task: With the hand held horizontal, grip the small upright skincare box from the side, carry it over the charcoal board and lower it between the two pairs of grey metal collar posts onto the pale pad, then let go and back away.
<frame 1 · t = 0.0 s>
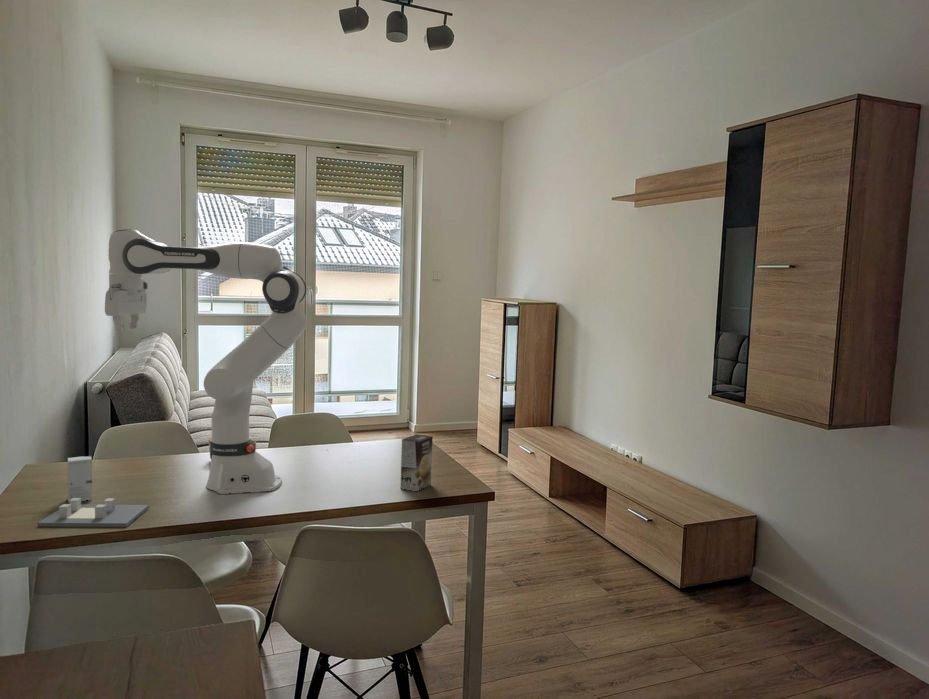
hand: (126, 329, 199), 48 cm above the table, tool pointing down, fingers open, 8 cm apart
lidded jar: (224, 461, 233), on the table
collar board: (95, 517, 175), on the table
coffee box: (416, 487, 209), on the table
skincare box: (80, 500, 188), on the table
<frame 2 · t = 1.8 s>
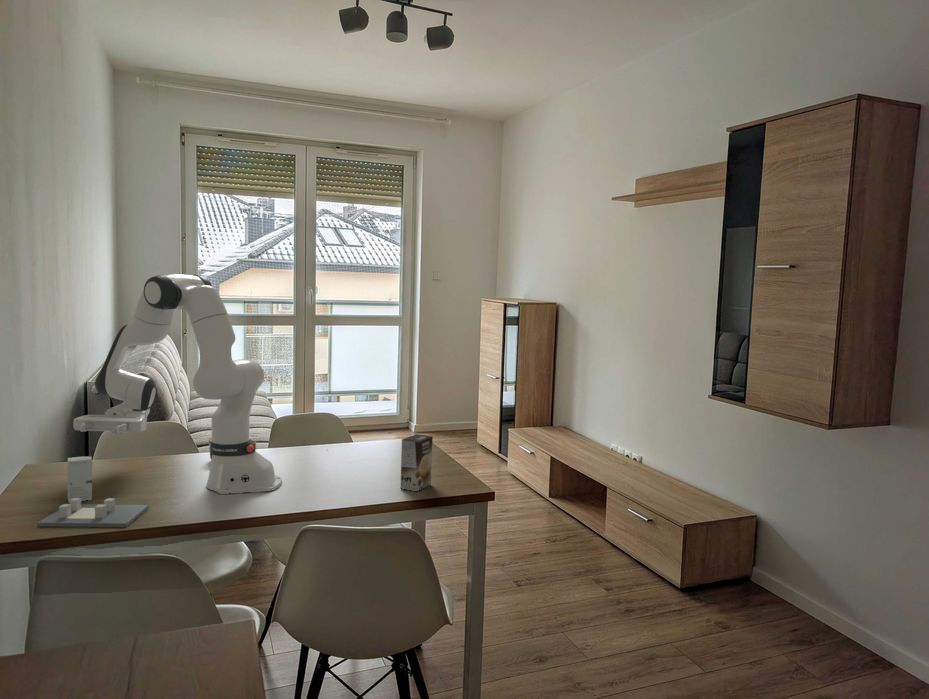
hand: (98, 429, 198), 18 cm above the table, tool horizontal, fingers open, 8 cm apart
nothing on the table moved.
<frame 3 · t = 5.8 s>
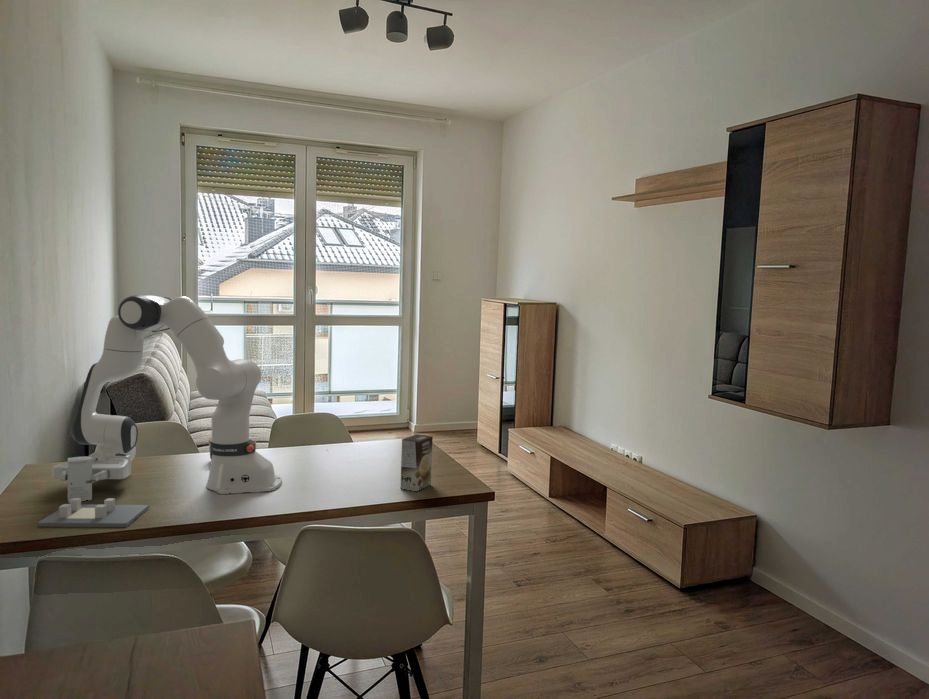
hand: (78, 478, 186), 7 cm above the table, tool horizontal, fingers closed on skincare box, 7 cm apart
skincare box: (80, 500, 188), on the table, touching gripper
everything else where it was.
when the fingers open (9 cm above the table, at t = 11.1 s): skincare box stays where it is, resting on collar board.
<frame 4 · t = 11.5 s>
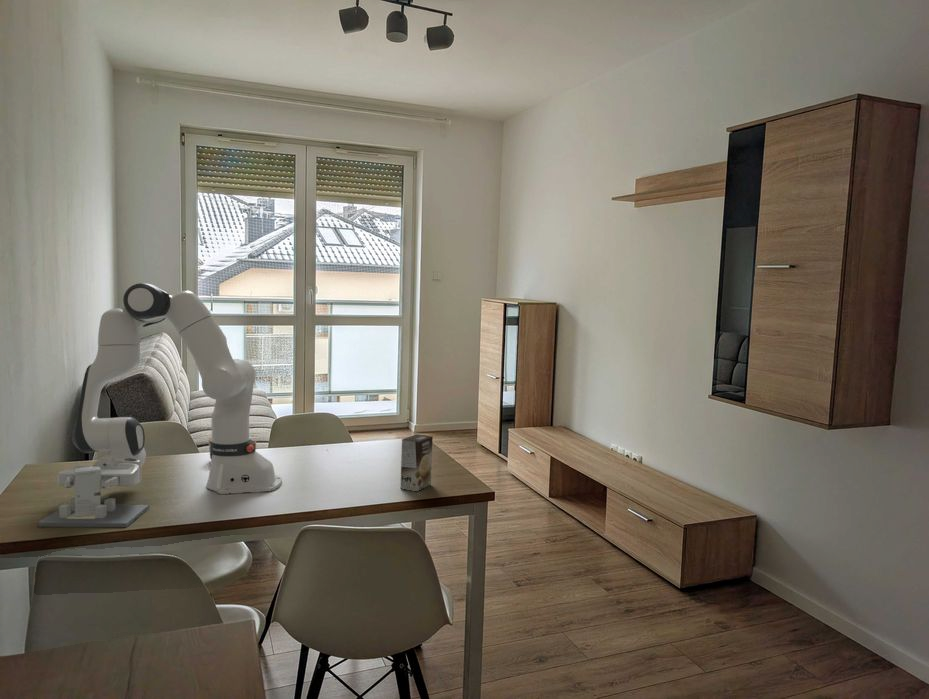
hand: (85, 485, 173), 9 cm above the table, tool horizontal, fingers open, 8 cm apart
skincare box: (88, 513, 175), point 1 cm above the table, touching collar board
everything else where it was.
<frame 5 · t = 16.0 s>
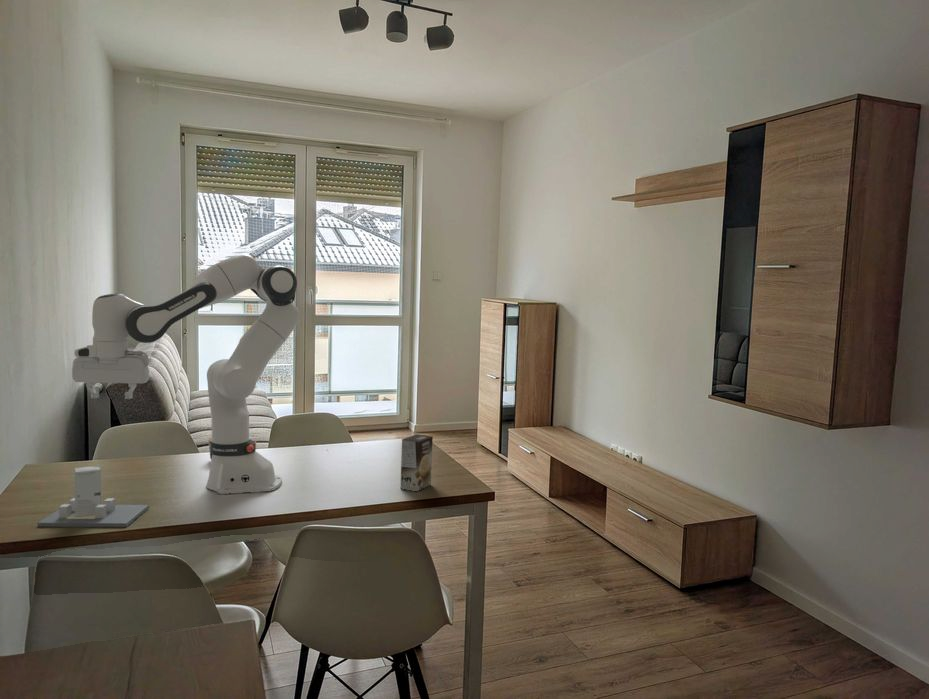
hand: (111, 398, 189), 29 cm above the table, tool pointing down, fingers open, 8 cm apart
nothing on the table moved.
at the end: skincare box inside the target area on the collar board (0.1 cm from its centre), point 0.9 cm above the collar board's base; skincare box tilted 0°; the gripper is holding nothing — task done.
